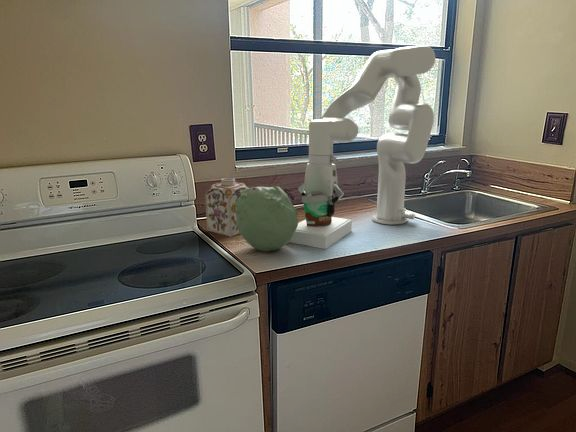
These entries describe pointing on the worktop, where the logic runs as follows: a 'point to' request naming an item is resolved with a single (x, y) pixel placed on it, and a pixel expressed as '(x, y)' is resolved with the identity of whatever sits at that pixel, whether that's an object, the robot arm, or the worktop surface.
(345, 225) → the base
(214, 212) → the decorative jar
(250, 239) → the cabbage
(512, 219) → the worktop surface
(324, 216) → the food container
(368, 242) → the worktop surface
